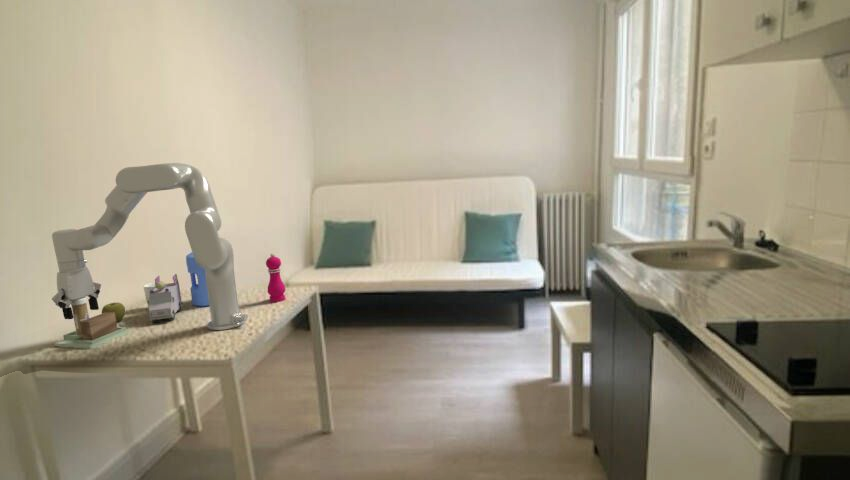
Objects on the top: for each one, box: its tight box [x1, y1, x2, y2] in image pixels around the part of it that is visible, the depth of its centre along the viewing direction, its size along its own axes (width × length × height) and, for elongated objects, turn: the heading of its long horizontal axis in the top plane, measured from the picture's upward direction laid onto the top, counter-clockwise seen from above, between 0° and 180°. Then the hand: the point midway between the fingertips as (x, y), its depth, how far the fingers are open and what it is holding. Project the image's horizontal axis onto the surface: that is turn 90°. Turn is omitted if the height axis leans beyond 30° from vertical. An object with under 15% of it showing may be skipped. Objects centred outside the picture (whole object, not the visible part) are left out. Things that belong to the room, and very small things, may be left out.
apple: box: [101, 302, 126, 323], centre depth 192 cm, size 8×8×7 cm
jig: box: [53, 326, 129, 350], centre depth 173 cm, size 15×15×3 cm
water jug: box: [185, 251, 210, 307], centre depth 211 cm, size 16×16×28 cm
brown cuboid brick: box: [80, 312, 118, 341], centre depth 171 cm, size 4×10×7 cm, turn 165°
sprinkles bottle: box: [70, 296, 90, 335], centre depth 173 cm, size 5×5×13 cm
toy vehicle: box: [146, 273, 183, 323], centre depth 194 cm, size 9×20×15 cm, turn 15°
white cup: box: [142, 281, 166, 310], centre depth 208 cm, size 8×8×10 cm
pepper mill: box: [265, 252, 286, 303], centre depth 208 cm, size 7×7×20 cm
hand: (82, 314), depth 172 cm, fingers open, 9 cm apart
